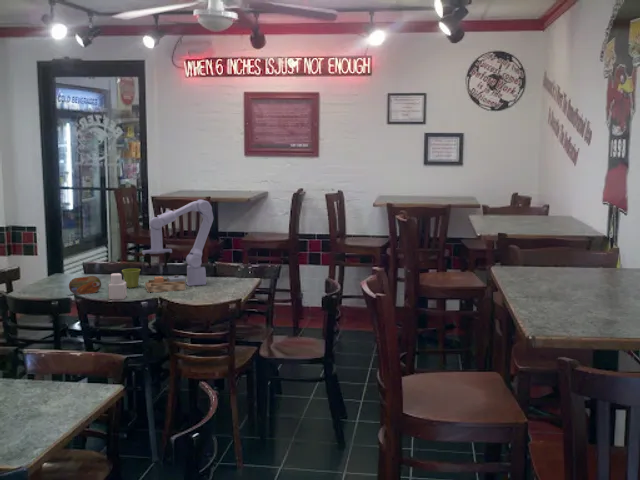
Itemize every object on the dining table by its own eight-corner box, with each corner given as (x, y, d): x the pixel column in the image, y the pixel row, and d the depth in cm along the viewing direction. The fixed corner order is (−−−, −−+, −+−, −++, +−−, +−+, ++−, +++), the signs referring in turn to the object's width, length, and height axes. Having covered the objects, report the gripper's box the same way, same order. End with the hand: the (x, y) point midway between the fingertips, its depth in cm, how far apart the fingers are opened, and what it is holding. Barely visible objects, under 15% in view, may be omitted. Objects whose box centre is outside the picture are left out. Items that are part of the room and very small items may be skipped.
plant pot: (136, 288, 357) (135, 271, 355) (119, 288, 358) (118, 271, 357) (144, 285, 366) (143, 268, 365) (127, 284, 368) (126, 268, 366)
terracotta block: (162, 288, 356) (162, 276, 356) (163, 289, 353) (163, 277, 352) (154, 288, 355) (154, 276, 354) (155, 290, 351) (155, 278, 351)
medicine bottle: (111, 296, 339) (110, 271, 337) (126, 296, 340) (125, 271, 338) (108, 299, 332) (107, 274, 330) (124, 299, 333) (123, 274, 331)
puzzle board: (181, 285, 364) (181, 277, 363) (185, 290, 353) (185, 281, 352) (145, 288, 358) (145, 280, 357) (148, 292, 347) (148, 284, 346)
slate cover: (183, 280, 362) (183, 273, 362) (186, 283, 355) (185, 276, 354) (167, 281, 359) (167, 274, 359) (169, 284, 352) (169, 277, 351)
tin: (70, 295, 341) (69, 278, 340) (68, 294, 344) (67, 277, 343) (101, 292, 349) (100, 275, 348) (100, 291, 352) (99, 274, 351)
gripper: (143, 242, 351) (144, 269, 352) (172, 241, 356) (173, 267, 358) (141, 241, 357) (142, 267, 359) (170, 239, 362) (171, 265, 364)
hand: (157, 267), depth 359 cm, fingers open, 7 cm apart
